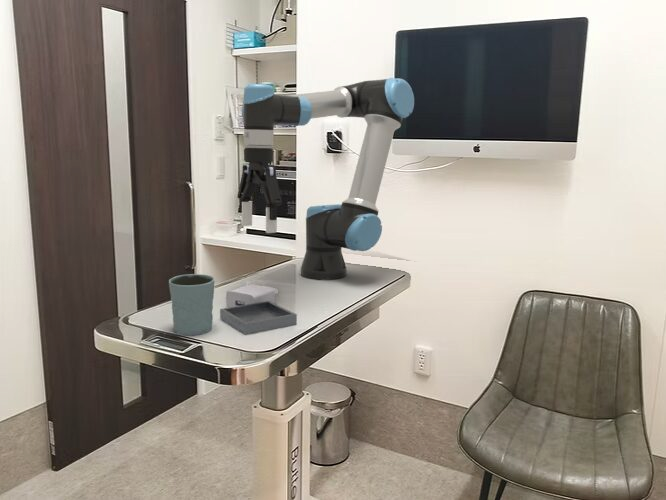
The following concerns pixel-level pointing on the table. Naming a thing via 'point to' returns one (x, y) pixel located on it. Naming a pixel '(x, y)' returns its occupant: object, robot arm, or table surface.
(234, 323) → the gray square tray
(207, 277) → the green cup
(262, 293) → the charger
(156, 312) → the table surface
